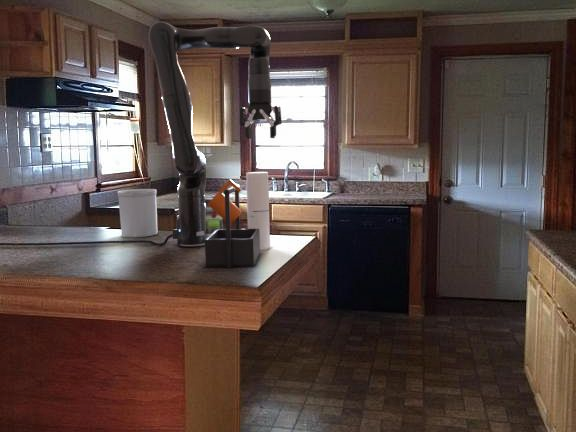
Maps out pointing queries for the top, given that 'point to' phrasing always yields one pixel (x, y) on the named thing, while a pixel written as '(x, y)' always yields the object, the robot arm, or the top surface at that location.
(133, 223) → the utensil holder
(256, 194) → the cylindrical container
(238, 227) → the basket
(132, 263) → the top surface
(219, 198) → the measuring cup
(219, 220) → the coffee can
